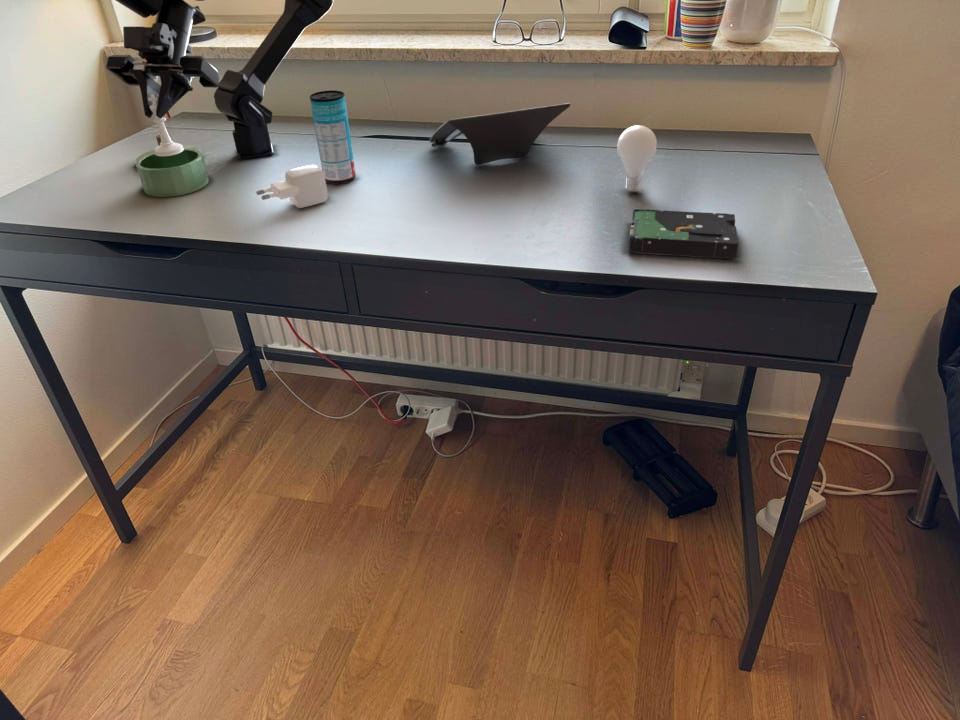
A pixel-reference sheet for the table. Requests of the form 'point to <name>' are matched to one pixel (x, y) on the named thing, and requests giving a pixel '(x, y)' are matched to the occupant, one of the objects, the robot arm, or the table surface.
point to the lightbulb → (636, 154)
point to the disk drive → (683, 233)
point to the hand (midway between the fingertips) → (153, 116)
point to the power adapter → (300, 187)
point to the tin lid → (160, 144)
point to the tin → (172, 173)
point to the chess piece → (164, 134)
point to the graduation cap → (499, 132)
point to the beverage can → (333, 136)
